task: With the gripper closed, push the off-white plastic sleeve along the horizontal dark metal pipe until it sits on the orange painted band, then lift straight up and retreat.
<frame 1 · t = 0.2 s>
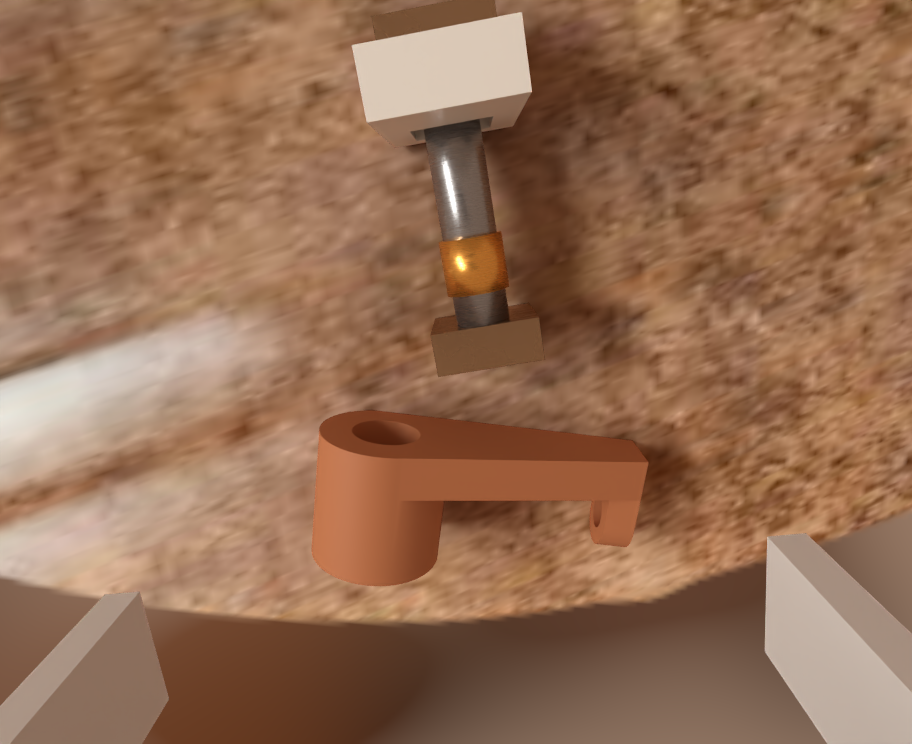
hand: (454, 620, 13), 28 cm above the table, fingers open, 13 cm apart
sleeve: (446, 92, 30), point 6 cm above the table, slide at 0.4 cm
pipe rig: (463, 201, 37), on the table
crank: (476, 475, 42), on the table
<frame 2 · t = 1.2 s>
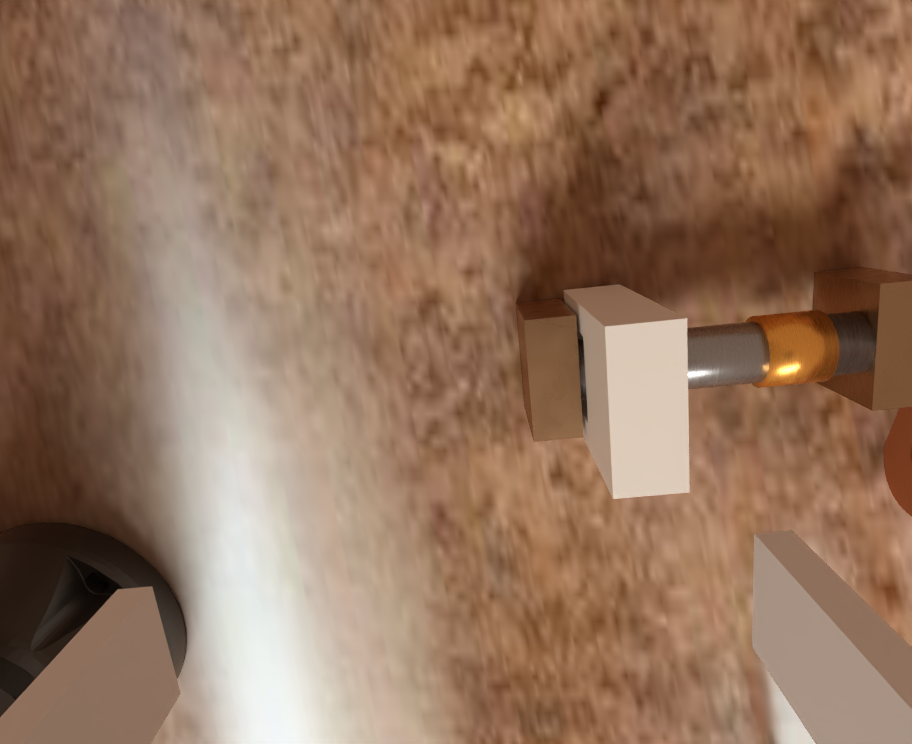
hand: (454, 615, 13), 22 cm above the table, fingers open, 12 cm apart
sleeve: (616, 375, 29), point 6 cm above the table, slide at 0.4 cm
pipe rig: (686, 339, 34), on the table
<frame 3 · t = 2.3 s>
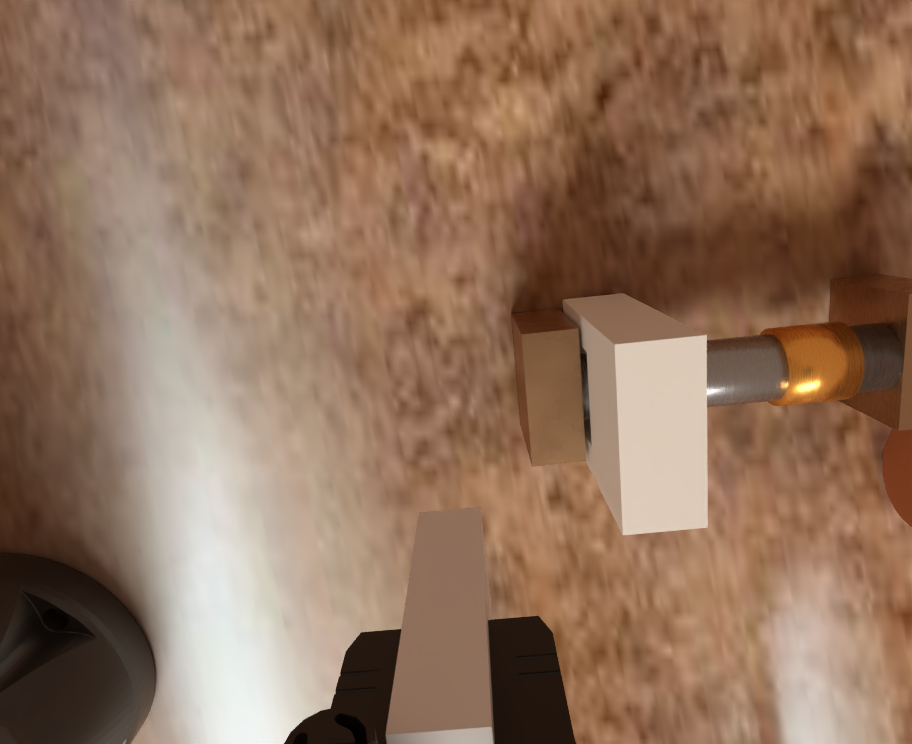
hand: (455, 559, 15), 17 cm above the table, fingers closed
sleeve: (623, 394, 26), point 6 cm above the table, slide at 0.4 cm
pipe rig: (694, 352, 32), on the table
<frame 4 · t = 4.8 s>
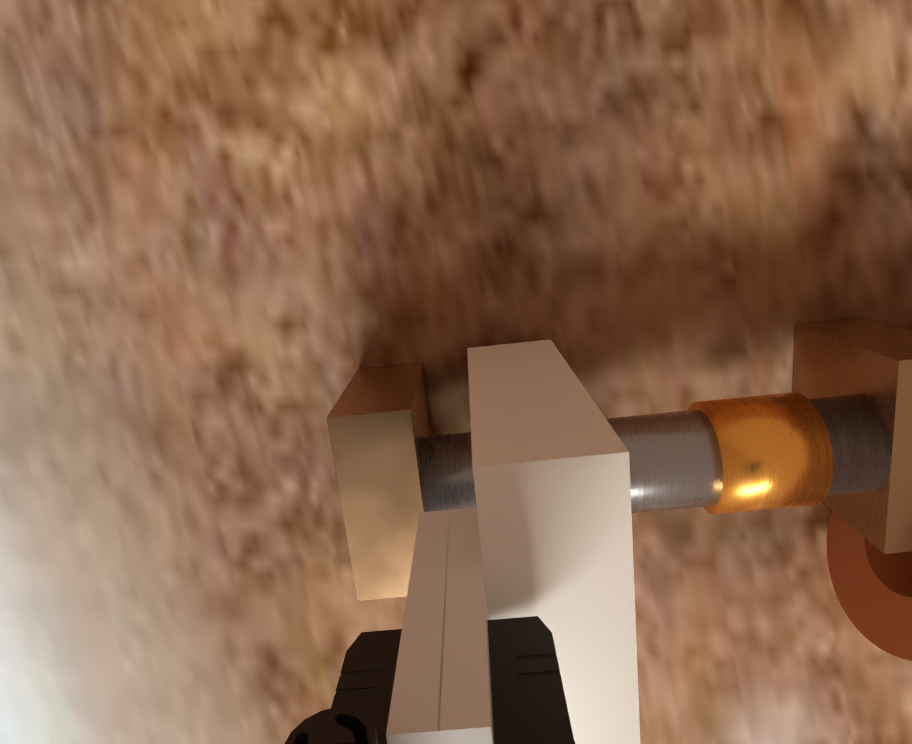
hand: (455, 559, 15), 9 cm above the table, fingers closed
sleeve: (532, 499, 18), point 6 cm above the table, slide at 1.9 cm, touching gripper
pipe rig: (609, 421, 23), on the table
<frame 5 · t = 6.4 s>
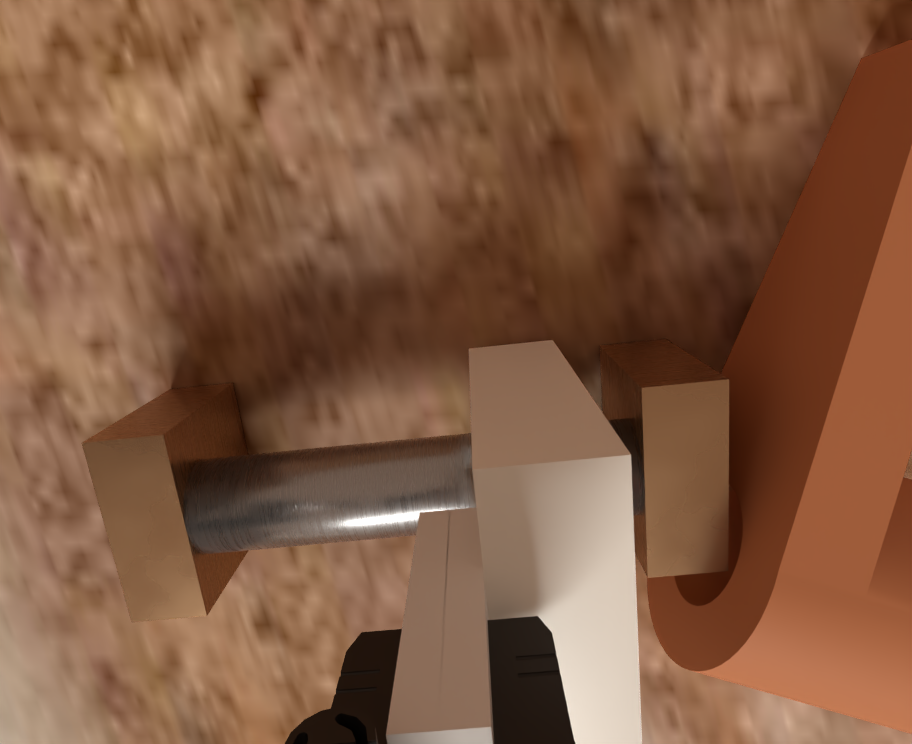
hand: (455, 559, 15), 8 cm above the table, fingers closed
sleeve: (534, 501, 18), point 6 cm above the table, slide at 9.1 cm, touching gripper
pipe rig: (423, 440, 23), on the table
crank: (825, 375, 23), on the table
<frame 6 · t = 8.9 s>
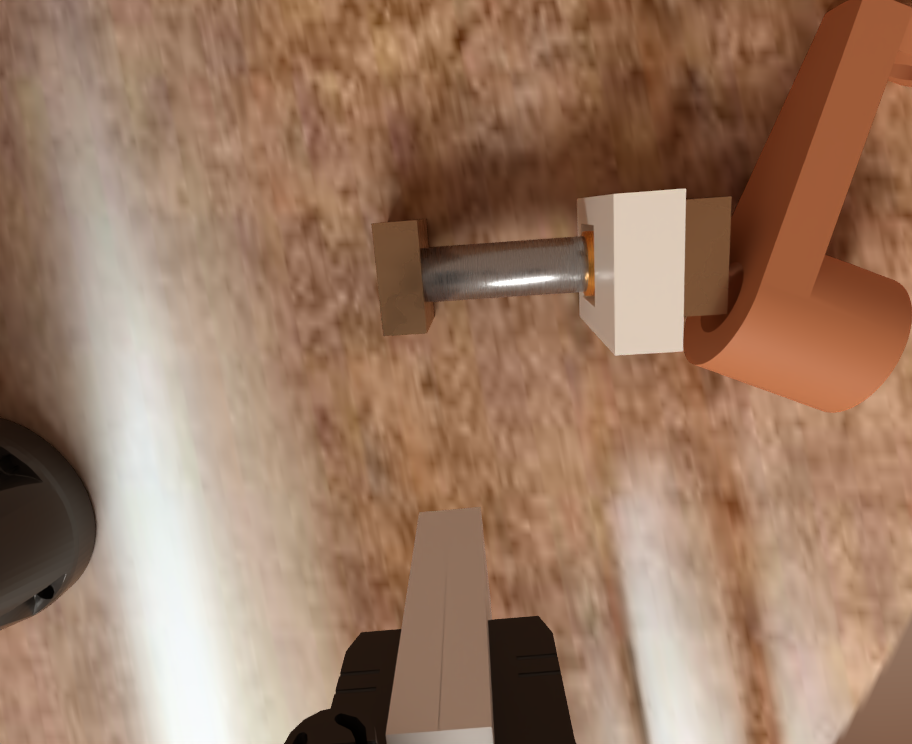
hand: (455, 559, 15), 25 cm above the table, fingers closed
sleeve: (622, 264, 32), point 6 cm above the table, slide at 9.2 cm
pipe rig: (541, 260, 38), on the table
crank: (801, 215, 37), on the table
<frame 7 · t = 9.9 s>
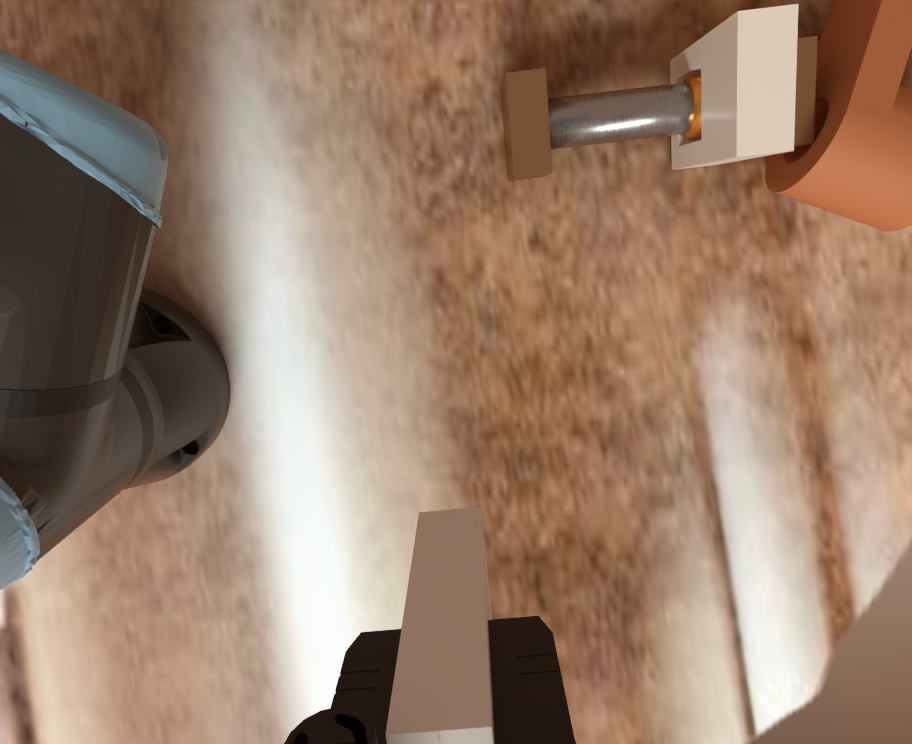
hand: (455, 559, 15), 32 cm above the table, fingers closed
sleeve: (724, 100, 37), point 6 cm above the table, slide at 9.2 cm
pipe rig: (636, 121, 43), on the table
crank: (865, 68, 42), on the table
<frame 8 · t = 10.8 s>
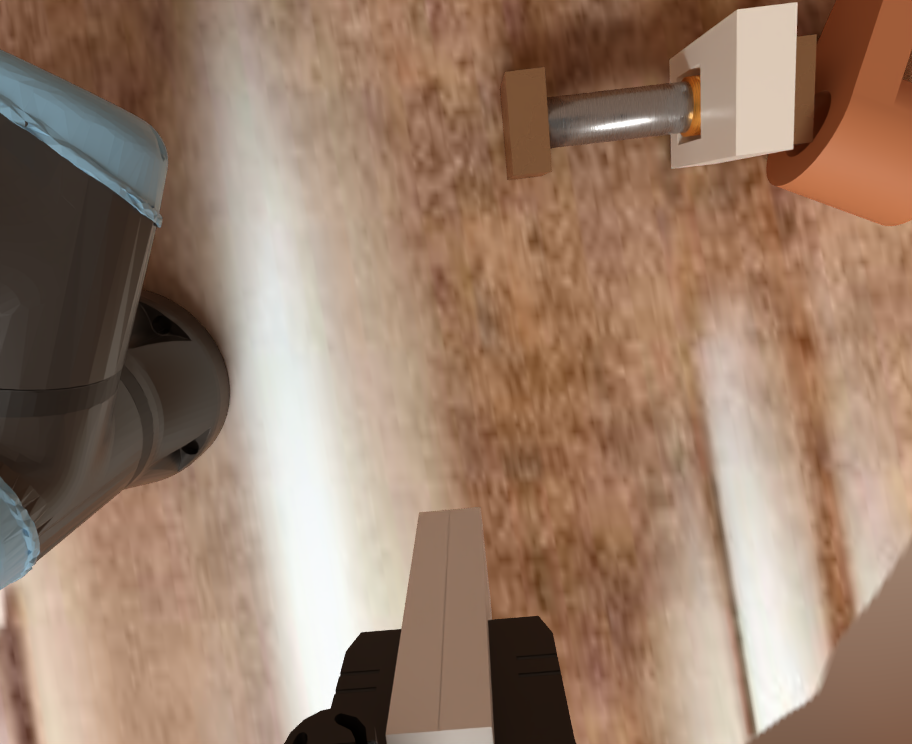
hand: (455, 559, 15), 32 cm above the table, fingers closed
sleeve: (724, 99, 37), point 6 cm above the table, slide at 9.2 cm
pipe rig: (636, 120, 43), on the table
crank: (867, 62, 42), on the table
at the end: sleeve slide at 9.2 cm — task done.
